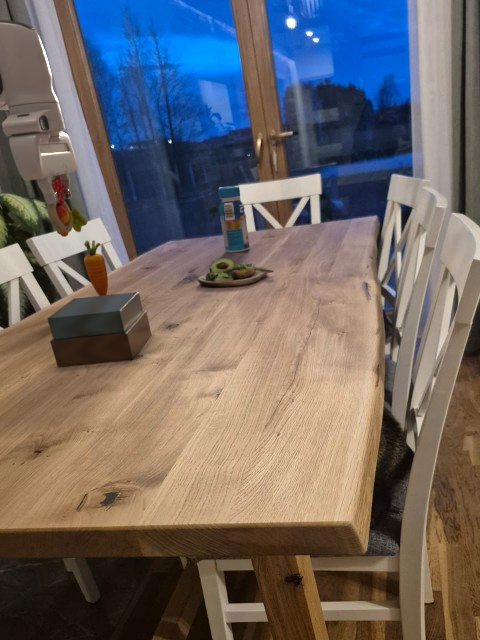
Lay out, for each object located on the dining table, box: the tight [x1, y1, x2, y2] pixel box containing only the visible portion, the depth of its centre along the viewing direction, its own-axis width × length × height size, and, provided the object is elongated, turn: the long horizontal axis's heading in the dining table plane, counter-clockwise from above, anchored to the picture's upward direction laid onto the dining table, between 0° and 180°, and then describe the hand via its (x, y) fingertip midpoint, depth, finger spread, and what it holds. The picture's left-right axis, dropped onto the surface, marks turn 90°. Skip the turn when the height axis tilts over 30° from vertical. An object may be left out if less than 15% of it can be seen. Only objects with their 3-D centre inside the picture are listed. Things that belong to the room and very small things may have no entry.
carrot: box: [83, 239, 109, 296], centre depth 146 cm, size 5×5×15 cm
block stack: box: [47, 291, 152, 368], centre depth 109 cm, size 14×14×9 cm
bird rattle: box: [46, 176, 88, 238], centre depth 114 cm, size 6×11×9 cm
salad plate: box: [197, 257, 274, 288], centre depth 153 cm, size 19×18×5 cm
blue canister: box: [217, 185, 251, 254], centre depth 188 cm, size 8×8×20 cm
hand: (60, 201), depth 113 cm, fingers closed on bird rattle, 6 cm apart
